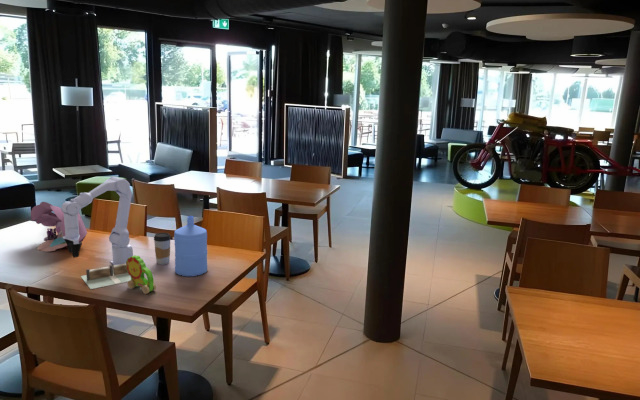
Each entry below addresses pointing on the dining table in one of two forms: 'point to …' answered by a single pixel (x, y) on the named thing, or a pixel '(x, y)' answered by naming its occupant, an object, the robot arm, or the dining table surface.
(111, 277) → the card
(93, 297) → the dining table surface
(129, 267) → the toy lion
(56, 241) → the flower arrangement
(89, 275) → the hinged fence section
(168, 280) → the dining table surface
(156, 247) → the coffee cup
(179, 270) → the water jug
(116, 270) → the fixed fence section
